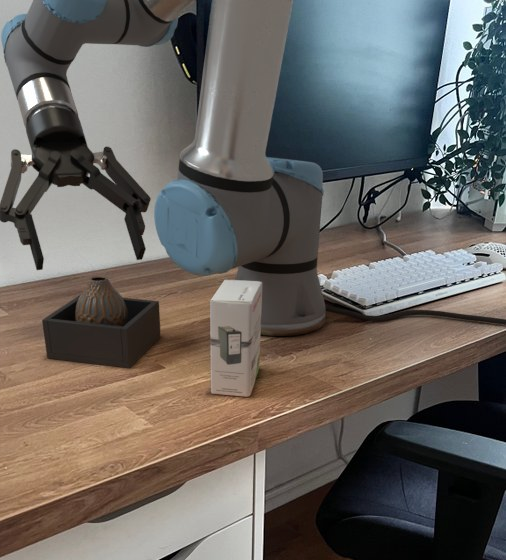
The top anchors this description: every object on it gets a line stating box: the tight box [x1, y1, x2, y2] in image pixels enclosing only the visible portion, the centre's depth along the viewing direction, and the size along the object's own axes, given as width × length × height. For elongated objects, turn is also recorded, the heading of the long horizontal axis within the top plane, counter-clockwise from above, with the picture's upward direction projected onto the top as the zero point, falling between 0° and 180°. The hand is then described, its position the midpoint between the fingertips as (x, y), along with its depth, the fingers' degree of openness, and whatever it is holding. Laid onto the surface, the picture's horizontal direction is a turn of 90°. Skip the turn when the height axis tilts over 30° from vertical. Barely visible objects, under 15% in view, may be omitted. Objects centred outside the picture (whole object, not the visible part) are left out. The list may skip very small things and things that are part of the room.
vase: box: [75, 275, 128, 326], centre depth 92 cm, size 7×7×9 cm
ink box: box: [209, 279, 262, 398], centre depth 83 cm, size 9×5×12 cm, turn 171°
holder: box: [41, 294, 162, 369], centre depth 93 cm, size 12×12×5 cm
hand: (92, 259), depth 91 cm, fingers open, 13 cm apart
